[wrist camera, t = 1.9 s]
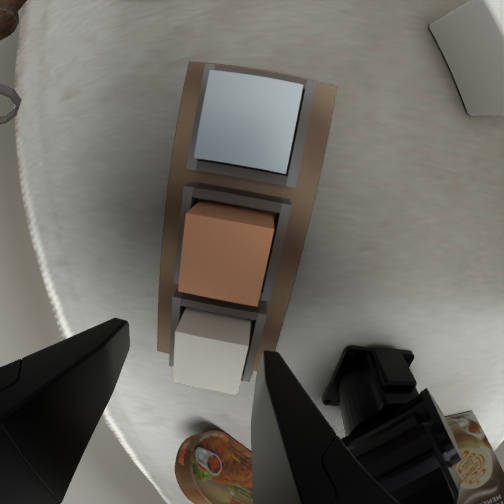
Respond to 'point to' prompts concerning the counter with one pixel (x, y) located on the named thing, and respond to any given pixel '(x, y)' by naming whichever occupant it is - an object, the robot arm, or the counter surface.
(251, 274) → the terracotta button
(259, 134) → the slate button
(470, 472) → the coffee box
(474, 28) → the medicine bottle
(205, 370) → the white button
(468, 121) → the counter surface
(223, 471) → the tin
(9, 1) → the coffee pot
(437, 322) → the counter surface
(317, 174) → the button panel
